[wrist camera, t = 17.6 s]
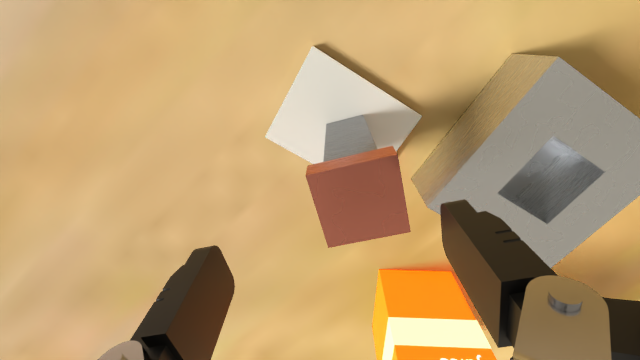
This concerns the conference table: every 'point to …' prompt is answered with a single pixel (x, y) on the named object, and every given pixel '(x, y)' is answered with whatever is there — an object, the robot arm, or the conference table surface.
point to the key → (357, 186)
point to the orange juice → (425, 319)
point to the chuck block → (539, 155)
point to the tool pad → (336, 108)
